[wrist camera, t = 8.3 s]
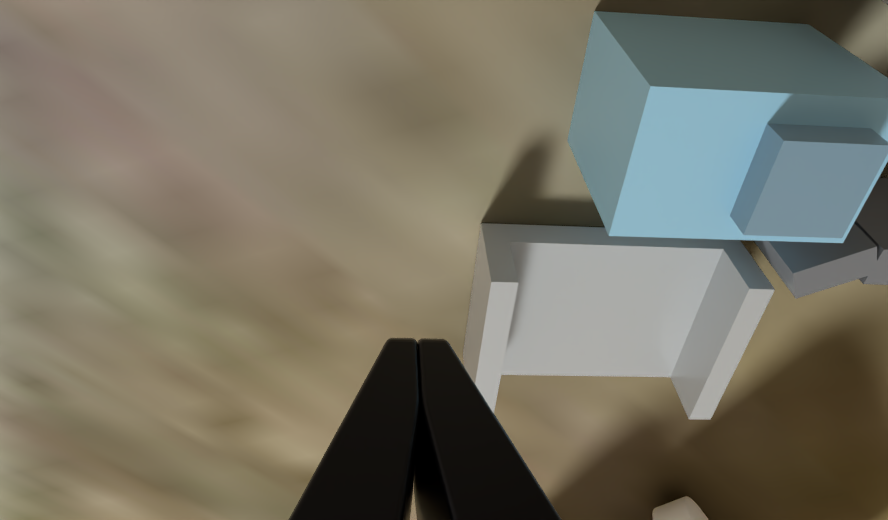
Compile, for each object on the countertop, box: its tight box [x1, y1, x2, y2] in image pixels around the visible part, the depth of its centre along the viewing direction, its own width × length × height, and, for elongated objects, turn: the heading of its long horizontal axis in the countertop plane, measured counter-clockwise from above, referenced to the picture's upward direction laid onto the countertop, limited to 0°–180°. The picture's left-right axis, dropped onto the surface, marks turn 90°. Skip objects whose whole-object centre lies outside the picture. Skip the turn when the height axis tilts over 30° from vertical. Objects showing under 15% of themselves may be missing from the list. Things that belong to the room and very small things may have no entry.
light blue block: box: [568, 11, 888, 243], centre depth 17 cm, size 6×4×6 cm, turn 85°
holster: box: [463, 223, 775, 420], centre depth 23 cm, size 9×6×3 cm
